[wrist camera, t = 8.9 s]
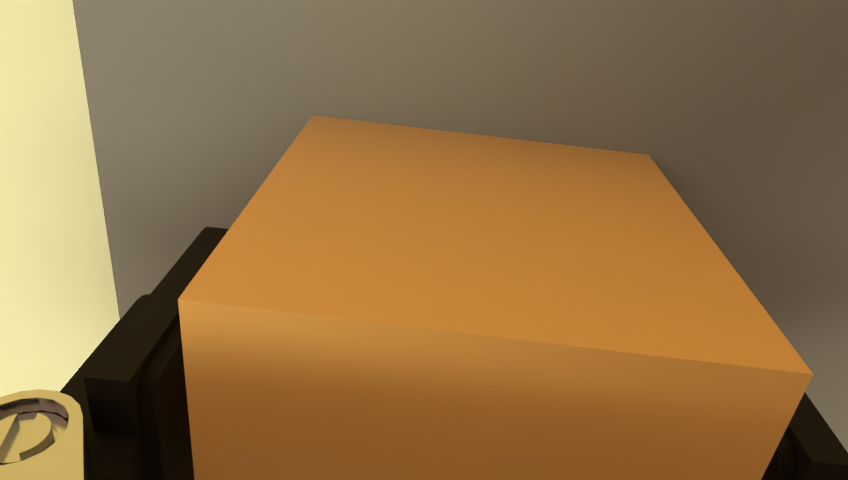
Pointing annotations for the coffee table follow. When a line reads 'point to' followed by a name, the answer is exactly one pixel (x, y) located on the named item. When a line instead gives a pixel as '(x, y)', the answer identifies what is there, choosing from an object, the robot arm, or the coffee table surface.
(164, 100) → the grey oblong slab
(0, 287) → the coffee table surface
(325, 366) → the orange cube
